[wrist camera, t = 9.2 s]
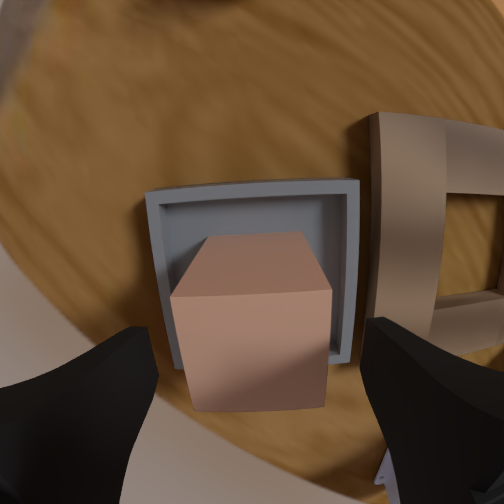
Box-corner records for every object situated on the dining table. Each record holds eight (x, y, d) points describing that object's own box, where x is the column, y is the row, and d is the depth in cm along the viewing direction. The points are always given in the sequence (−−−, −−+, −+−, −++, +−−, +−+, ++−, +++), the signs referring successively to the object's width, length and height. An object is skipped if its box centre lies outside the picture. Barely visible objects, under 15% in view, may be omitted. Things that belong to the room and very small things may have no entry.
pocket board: (515, 327, 17) (526, 336, 16) (359, 358, 18) (365, 373, 16) (539, 142, 13) (553, 143, 12) (368, 115, 14) (378, 111, 12)
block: (302, 314, 16) (324, 406, 10) (218, 318, 17) (194, 411, 10) (301, 231, 15) (332, 289, 8) (208, 236, 15) (169, 297, 9)
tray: (342, 344, 18) (349, 362, 16) (181, 351, 18) (175, 369, 16) (348, 177, 15) (359, 180, 13) (157, 188, 15) (144, 192, 14)
